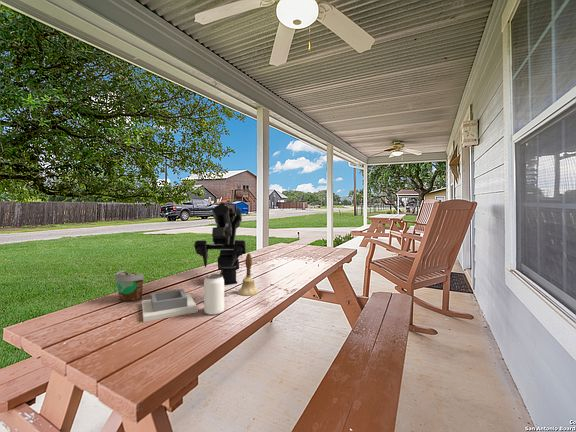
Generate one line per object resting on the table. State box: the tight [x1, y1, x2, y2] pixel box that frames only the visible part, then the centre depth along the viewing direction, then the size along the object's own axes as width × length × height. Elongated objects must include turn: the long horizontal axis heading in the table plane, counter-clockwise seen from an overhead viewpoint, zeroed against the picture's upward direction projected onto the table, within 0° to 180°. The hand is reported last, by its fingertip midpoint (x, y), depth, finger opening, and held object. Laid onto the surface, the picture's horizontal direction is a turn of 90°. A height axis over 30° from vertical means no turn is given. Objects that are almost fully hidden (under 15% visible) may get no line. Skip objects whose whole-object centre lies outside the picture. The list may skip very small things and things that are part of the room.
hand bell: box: [237, 252, 259, 297], centre depth 112 cm, size 8×8×16 cm
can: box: [203, 273, 225, 316], centre depth 92 cm, size 6×6×12 cm
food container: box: [114, 269, 145, 303], centre depth 102 cm, size 12×6×10 cm, turn 62°
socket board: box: [141, 288, 199, 323], centre depth 95 cm, size 16×16×4 cm
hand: (218, 266), depth 99 cm, fingers open, 9 cm apart
